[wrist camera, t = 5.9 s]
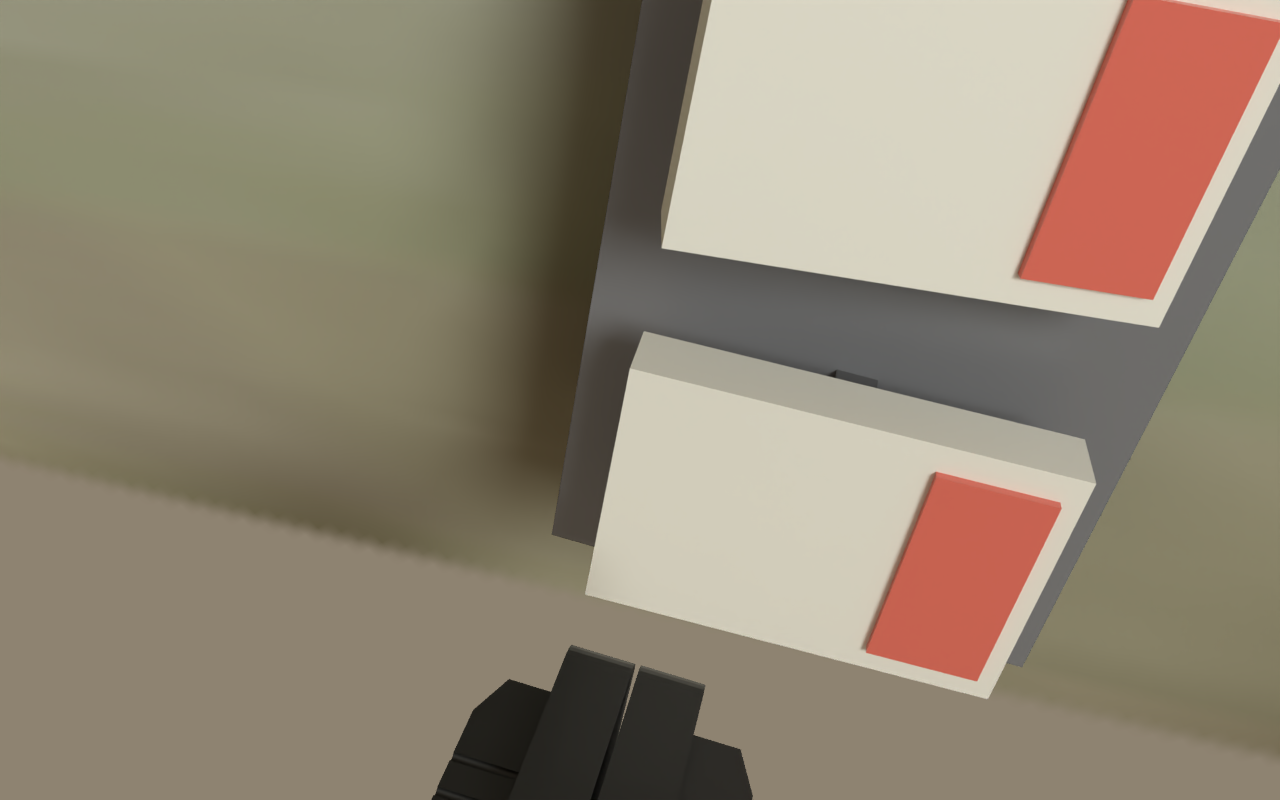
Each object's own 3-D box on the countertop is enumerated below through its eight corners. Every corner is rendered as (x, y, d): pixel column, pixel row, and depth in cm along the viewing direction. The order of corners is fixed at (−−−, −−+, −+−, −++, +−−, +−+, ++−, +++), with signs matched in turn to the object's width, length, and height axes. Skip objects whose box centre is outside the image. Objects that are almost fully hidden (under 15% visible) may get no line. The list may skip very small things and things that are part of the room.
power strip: (1610, -790, 12) (1939, -1022, 8) (1009, 518, 22) (1025, 699, 18) (859, -912, 13) (826, -1181, 9) (608, 410, 23) (539, 561, 19)
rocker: (1085, 439, 15) (1097, 489, 14) (983, 650, 17) (988, 705, 16) (643, 331, 15) (628, 373, 14) (599, 550, 18) (583, 600, 17)
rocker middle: (1282, -40, 12) (1334, -12, 11) (1129, 287, 14) (1162, 333, 13) (731, -145, 12) (738, -126, 11) (660, 212, 14) (662, 253, 13)
